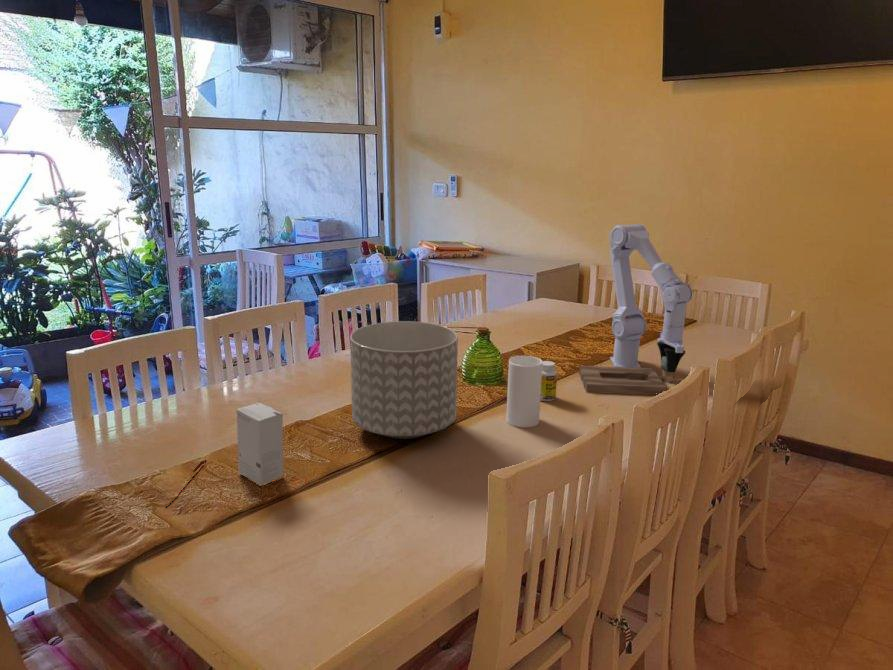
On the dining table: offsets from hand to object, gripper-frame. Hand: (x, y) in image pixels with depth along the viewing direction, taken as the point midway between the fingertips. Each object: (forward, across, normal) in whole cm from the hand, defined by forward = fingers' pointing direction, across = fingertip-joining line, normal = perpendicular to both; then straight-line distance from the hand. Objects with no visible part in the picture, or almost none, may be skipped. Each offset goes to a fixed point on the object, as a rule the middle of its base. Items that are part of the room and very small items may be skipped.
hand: (668, 368), depth 196 cm
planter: (+4, +37, -76) cm, 85 cm away
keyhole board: (+4, +3, -15) cm, 16 cm away
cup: (+4, +31, -47) cm, 56 cm away
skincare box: (+4, +61, -105) cm, 121 cm away
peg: (+4, 0, 0) cm, 4 cm away
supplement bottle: (+4, +15, -39) cm, 42 cm away
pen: (+4, +64, -119) cm, 135 cm away
